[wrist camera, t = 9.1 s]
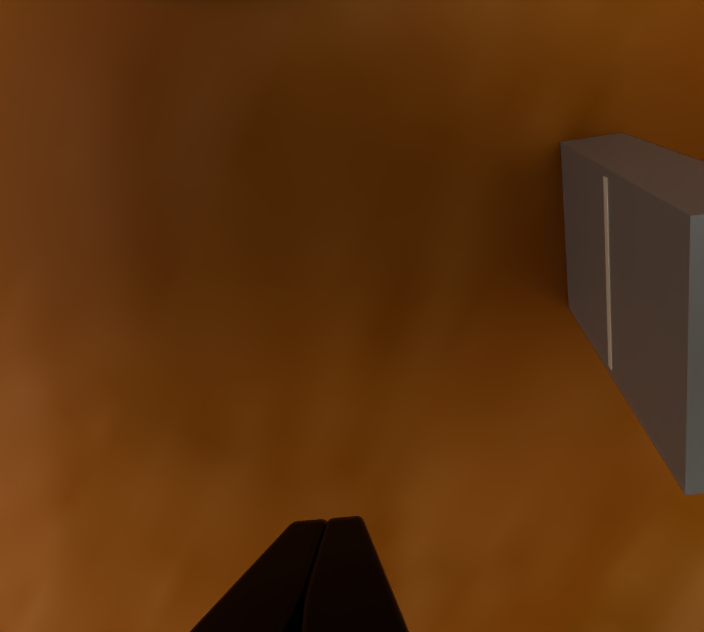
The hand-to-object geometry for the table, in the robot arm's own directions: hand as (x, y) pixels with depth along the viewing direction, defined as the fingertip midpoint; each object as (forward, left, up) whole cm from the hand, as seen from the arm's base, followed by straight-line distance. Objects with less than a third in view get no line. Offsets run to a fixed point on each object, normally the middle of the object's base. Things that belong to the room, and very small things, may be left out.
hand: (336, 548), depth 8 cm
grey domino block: (0, -6, -12) cm, 14 cm away
